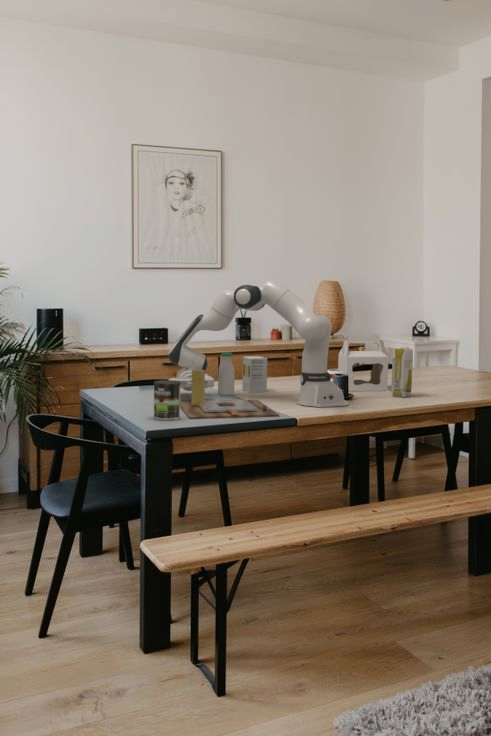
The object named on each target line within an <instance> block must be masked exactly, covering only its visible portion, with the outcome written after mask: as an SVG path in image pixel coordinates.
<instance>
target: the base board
mask: <svg viewBox="0 0 491 736" xmlns="http://www.w3.org/2000/svg"><path fill="white" fill-rule="evenodd" d="M246 400H247V401H248V402H250V403H251V404H252V405H254V406H255V407H256V408H258V411H240V412H238V415H231V414H230V413H229V412H203V411H202V410H201V409H200V407H199V406H192V400H190V401H187V400H186V401H185V400H184V401H183V400H182V401H181V400H180V410H182V412H183V411H184V412H183V413H184V414H185V416H186V417H187V418H188V420H197V419H198V420H200V419H202V420H204V419H207V420H208V419H235V418H236V419H237V418H239V419H240V418H242V419H243V418H270V417H271V418H272V417H280V413H278V412H276V411H275V410H273V409H272V408H271V407H269V406H267V405H268V404H265V403H263V402H261V400H258V399H246ZM222 406H233V405H230V403H228V402H224V403H222Z"/></svg>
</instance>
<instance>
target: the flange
mask: <svg viewBox="0 0 491 736" xmlns="http://www.w3.org/2000/svg"><path fill="white" fill-rule="evenodd" d="M205 374H206V370H192V391H191V401H192V406H199V407H200V409H201V410H202V411H203V412H229V413H230V414H231V415H238V412H240V411H258V408H256V407H255V406H254V405H252V404H251V403H250V402H248V401H247V400H248V399H227V400H226V399H223V400H221V399H219V400H218V399H217V400H216V399H215V400H205V399H206V398H205V397H206V395H205V393H206V392H205V390H206V388H205ZM224 402H228V403H230V405H233V406H222V403H224Z"/></svg>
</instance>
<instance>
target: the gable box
mask: <svg viewBox="0 0 491 736" xmlns="http://www.w3.org/2000/svg"><path fill="white" fill-rule="evenodd" d="M380 338H381V337H380V335H379V334H376V333H375V334H373V333H371V334H369V333H367V334H362V333H361V334H359V333H358V334H351V333H350V334H348V336H347V339H346V340H343V341H342V347H341V349H340V350H339V353H338V359H337V371H338V370H344V371H346V372H347V374H348V377H349V391H350V392H352V391H353V392H385V391H384V390H387V391H388V380H389V379H388V378H389V377H388V376H389V355H388V353H387V350H386V347H385V341H384V340H381V339H380ZM351 344H377V347H378V348H377V350H349V349H350V348H349V346H350V345H351ZM355 364H364V365H365V364H367V365H372V368H371V371H370V379H369V380H363V379H355V374H354V372H353V366H354V365H355ZM350 392H349V393H350Z"/></svg>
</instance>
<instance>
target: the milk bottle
mask: <svg viewBox="0 0 491 736" xmlns="http://www.w3.org/2000/svg"><path fill="white" fill-rule="evenodd" d="M217 371H218V373H217V374H218V375H217V377H218V378H217V394H218V395H219V396H225V397H226V396H234V395H235V367H234V364H233V361H232V352H229V351H228V352H227V351H226V352H222V353H221V362H220V364H219V367H218V370H217Z"/></svg>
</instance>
